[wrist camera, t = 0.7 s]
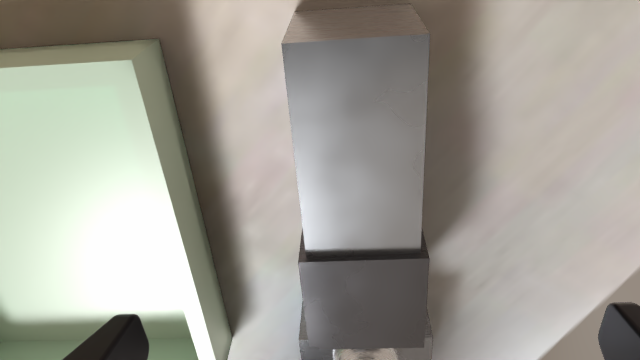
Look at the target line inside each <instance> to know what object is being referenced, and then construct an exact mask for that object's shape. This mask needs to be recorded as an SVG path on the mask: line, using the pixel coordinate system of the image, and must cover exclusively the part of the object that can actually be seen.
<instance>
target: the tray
mask: <svg viewBox="0 0 640 360" xmlns="http://www.w3.org/2000/svg"><path fill="white" fill-rule="evenodd" d="M118 314H137V315H138V316H139V317H140V319H141V322H142V325H143V327H144V330H145V333H146V335H147V338H148V341H149V355H148V359H147V360H227V358H228V354H229V350H230V346H231V342H232V335H231V331H230V327H229V323H228V319H227V315H226V311H225V306H224V302H223V298H222V294H221V290H220V286H219V282H218V278H217V274H216V270H215V266H214V262H213V257H212V253H211V249H210V245H209V241H208V237H207V233H206V229H205V225H204V221H203V217H202V212H201V208H200V204H199V200H198V196H197V192H196V188H195V184H194V180H193V176H192V172H191V168H190V163H189V159H188V155H187V151H186V147H185V143H184V139H183V135H182V131H181V127H180V123H179V119H178V114H177V110H176V106H175V102H174V98H173V94H172V90H171V86H170V82H169V78H168V74H167V70H166V65H165V61H164V57H163V53H162V49H161V45H160V41H159V39H146V40H131V41H116V42H101V43H86V44H71V45H56V46H41V47H25V48H10V49H0V360H62V359H63V358H64V357H66V356H67V355H68V354H69V353H70V352H72V351H73V350H74V349H75V348H76V347H78V346H79V345H80V344H81V343H82V342H84V341H85V340H86V339H87V338H88V337H90V336H91V335H92V334H93V333H94V332H96V331H97V330H98V329H99V328H100V327H102V326H103V325H104V324H105V323H106V322H107V321H109V320H110V319H111V318H112V317H114V316H115V315H118Z"/></svg>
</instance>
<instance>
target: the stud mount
mask: <svg viewBox="0 0 640 360" xmlns="http://www.w3.org/2000/svg"><path fill="white" fill-rule="evenodd" d="M432 342H433V336H432V331H431V326H430V321H429V317H428V312H427V307H426V324H425V342H424V348H383V349H327V350H309V343H308V335H307V328H306V320H305V312H304V304H303V303H302V313H301V323H300V333H299V345H300V352H301V359H302V360H431V357H432Z"/></svg>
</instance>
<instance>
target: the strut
mask: <svg viewBox="0 0 640 360" xmlns="http://www.w3.org/2000/svg"><path fill="white" fill-rule="evenodd" d="M281 44H282V53H283V61H284V70H285V79H286V88H287V96H288V105H289V114H290V122H291V131H292V140H293V148H294V157H295V166H296V174H297V183H298V192H299V201H300V209H301V218H302V235H301V244H300V252H299V261H298V264H299V272H300V280H301V288H302V296H303V304H304V312H305V320H306V328H307V335H308V343H309V350H327V349H383V348H424V342H425V324H426V306H427V288H428V271H429V256H428V252H427V247H426V243H425V239H424V235H423V231H422V207H423V184H424V161H425V138H426V115H427V92H428V69H429V46H430V33H429V31H428V30H427V28H426V27H425V25H424V24H423V22H422V21H421V19H420V18H419V16H418V14H417V13H416V11H415V10H414V8H413V7H412V5H411V4H398V5H384V6H369V7H355V8H340V9H326V10H311V11H297V12H294V14H293V17H292V19H291V21H290V24H289V26H288V29H287V31H286V34H285V36H284V38H283V41H282V43H281Z"/></svg>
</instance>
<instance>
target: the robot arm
mask: <svg viewBox="0 0 640 360" xmlns="http://www.w3.org/2000/svg"><path fill="white" fill-rule="evenodd" d="M598 340H599V345H600V348H601V351H602V354H603V357H604V359H605V360H640V306H639V305H637V304H635V303H632V302H618V303H610V304H609V305H608V306H607V308H606V311H605V314H604V317H603V320H602V323H601V327H600V330H599V334H598ZM148 355H149V341H148V338H147V335H146V333H145V330H144V327H143V325H142V322H141V319H140V317H139V316H138V315H137V314H118V315H115V316H114V317H112V318H111V319H110V320H109V321H107V322H106V323H105V324H104V325H103V326H102V327H100V328H99V329H98V330H97V331H96V332H94V333H93V334H92V335H91V336H90V337H88V338H87V339H86V340H85V341H84V342H82V343H81V344H80V345H79V346H78V347H76V348H75V349H74V350H73V351H72V352H70V353H69V354H68V355H67V356H66V357H64V358H63V359H62V360H147V359H148Z"/></svg>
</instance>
